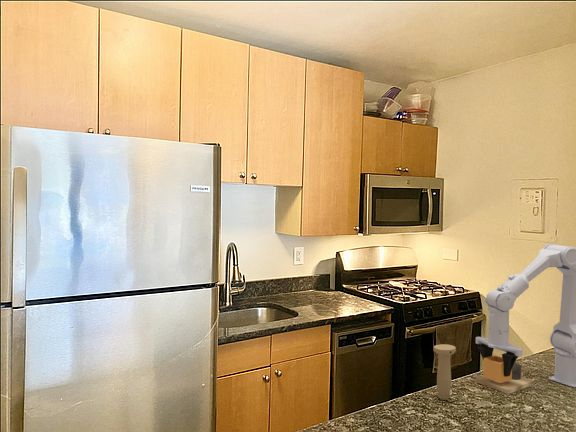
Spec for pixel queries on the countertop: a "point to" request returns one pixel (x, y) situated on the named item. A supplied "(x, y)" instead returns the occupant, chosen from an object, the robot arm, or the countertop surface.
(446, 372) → the handle
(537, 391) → the countertop surface
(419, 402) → the countertop surface
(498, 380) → the sleeve
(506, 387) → the fitting board
